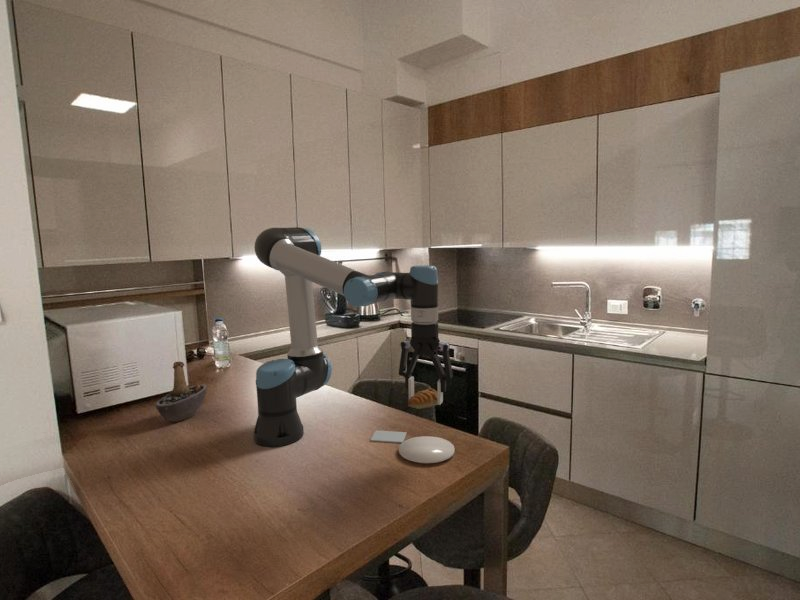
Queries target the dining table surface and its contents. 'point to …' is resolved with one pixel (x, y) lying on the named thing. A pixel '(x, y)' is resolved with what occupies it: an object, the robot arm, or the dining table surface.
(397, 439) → the napkin
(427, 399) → the pastry
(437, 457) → the plate
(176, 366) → the planter
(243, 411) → the dining table surface
